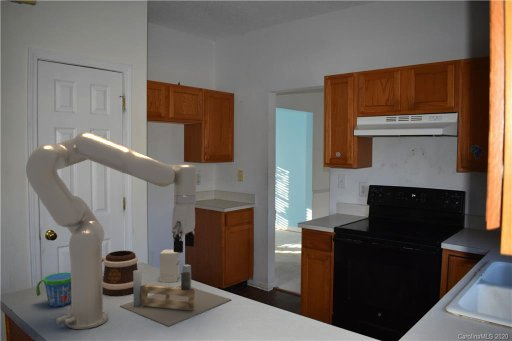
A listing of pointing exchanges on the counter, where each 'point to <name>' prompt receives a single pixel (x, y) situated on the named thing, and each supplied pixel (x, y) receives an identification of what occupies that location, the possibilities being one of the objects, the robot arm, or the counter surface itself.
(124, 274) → the mug
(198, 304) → the taupe mat
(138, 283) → the gate frame
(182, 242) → the robot arm
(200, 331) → the counter surface
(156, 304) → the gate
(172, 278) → the supplement box
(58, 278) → the snack cup
